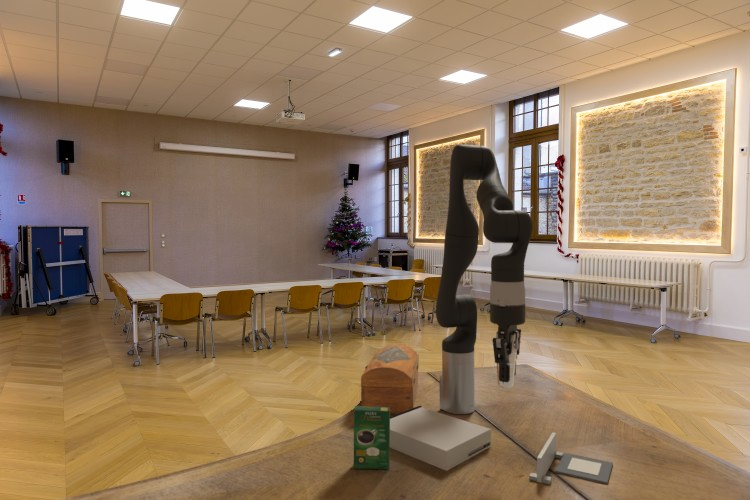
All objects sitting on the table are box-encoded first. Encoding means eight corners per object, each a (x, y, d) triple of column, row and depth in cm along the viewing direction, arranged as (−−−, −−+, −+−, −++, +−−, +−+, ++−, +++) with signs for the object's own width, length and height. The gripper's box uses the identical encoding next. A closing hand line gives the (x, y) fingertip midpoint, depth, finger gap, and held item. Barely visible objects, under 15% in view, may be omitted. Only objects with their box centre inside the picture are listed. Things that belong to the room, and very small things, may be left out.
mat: (555, 472, 104) (555, 470, 104) (564, 454, 113) (564, 452, 113) (607, 484, 99) (607, 481, 99) (612, 464, 108) (612, 462, 108)
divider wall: (529, 480, 101) (529, 455, 101) (545, 452, 114) (545, 430, 114) (549, 484, 99) (549, 460, 99) (563, 456, 112) (563, 434, 112)
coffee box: (391, 464, 109) (390, 405, 109) (390, 470, 106) (389, 410, 106) (354, 463, 110) (353, 405, 109) (353, 469, 107) (352, 409, 106)
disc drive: (419, 423, 134) (419, 405, 134) (491, 448, 118) (491, 427, 118) (372, 442, 122) (372, 422, 122) (445, 473, 106) (445, 450, 105)
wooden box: (372, 382, 171) (372, 342, 171) (420, 384, 168) (420, 343, 168) (355, 413, 141) (355, 365, 141) (413, 416, 139) (413, 367, 138)
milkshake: (521, 390, 107) (521, 344, 106) (495, 388, 108) (495, 343, 107) (519, 383, 111) (519, 339, 111) (494, 382, 112) (495, 338, 112)
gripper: (500, 296, 117) (500, 368, 117) (480, 304, 104) (480, 384, 105) (532, 298, 113) (532, 373, 113) (515, 306, 101) (515, 390, 101)
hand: (507, 378), depth 109 cm, fingers closed on milkshake, 4 cm apart
